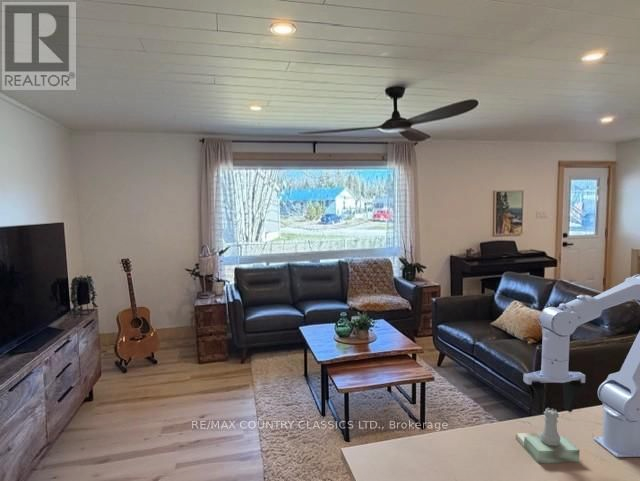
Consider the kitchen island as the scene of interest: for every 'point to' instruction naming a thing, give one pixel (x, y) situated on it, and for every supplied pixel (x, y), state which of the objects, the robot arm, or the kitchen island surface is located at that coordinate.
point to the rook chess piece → (550, 428)
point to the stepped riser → (548, 449)
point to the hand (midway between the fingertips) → (552, 410)
